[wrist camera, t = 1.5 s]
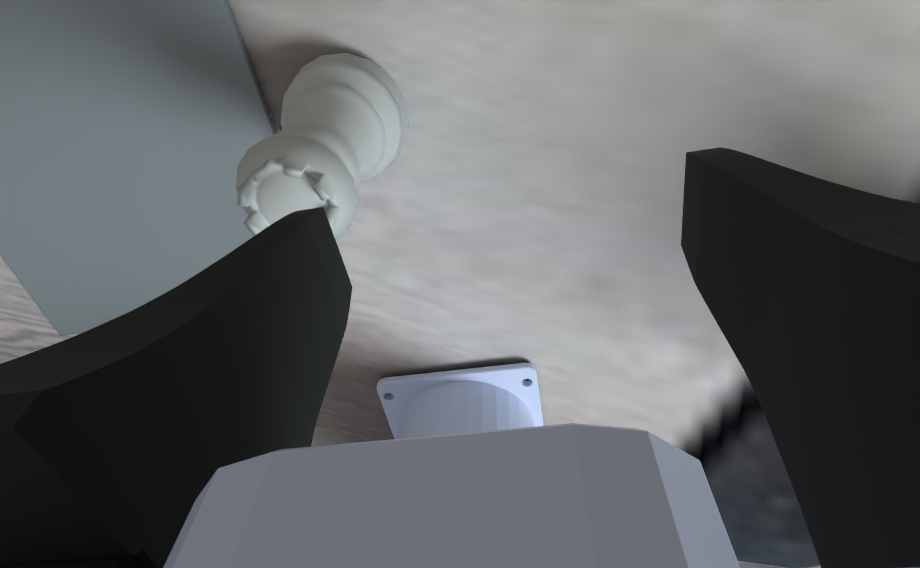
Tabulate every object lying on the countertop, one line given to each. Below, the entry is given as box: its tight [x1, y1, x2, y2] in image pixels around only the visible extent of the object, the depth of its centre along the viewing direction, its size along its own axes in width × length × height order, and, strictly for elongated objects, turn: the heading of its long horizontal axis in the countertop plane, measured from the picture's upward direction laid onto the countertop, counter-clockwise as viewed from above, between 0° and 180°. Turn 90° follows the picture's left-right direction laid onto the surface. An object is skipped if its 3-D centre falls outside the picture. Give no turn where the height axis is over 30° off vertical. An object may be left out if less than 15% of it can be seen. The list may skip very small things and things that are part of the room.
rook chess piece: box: [236, 53, 409, 240], centre depth 17 cm, size 4×4×8 cm
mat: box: [0, 0, 276, 336], centre depth 22 cm, size 16×14×1 cm
